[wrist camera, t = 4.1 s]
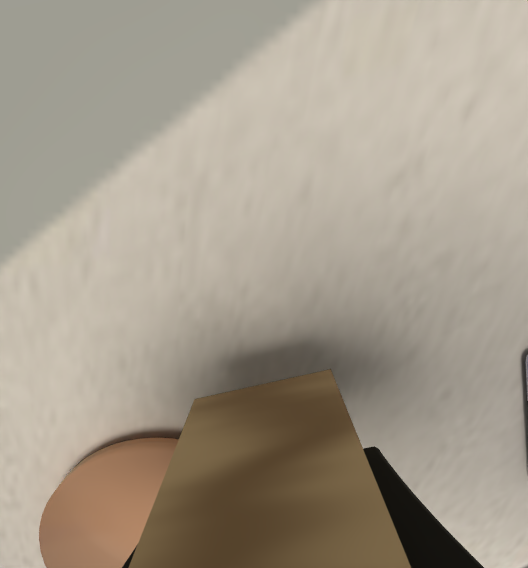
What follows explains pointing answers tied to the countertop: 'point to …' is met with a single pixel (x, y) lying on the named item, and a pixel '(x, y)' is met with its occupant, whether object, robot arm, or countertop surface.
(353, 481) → the oak block
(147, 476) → the peach round disc
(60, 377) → the countertop surface
